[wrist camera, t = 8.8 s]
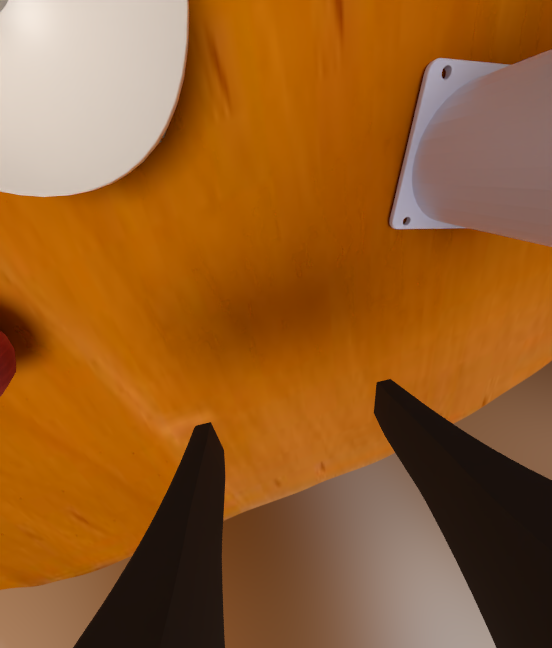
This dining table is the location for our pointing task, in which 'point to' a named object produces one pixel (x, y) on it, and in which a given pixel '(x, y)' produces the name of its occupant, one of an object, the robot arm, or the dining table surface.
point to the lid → (85, 89)
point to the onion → (6, 362)
